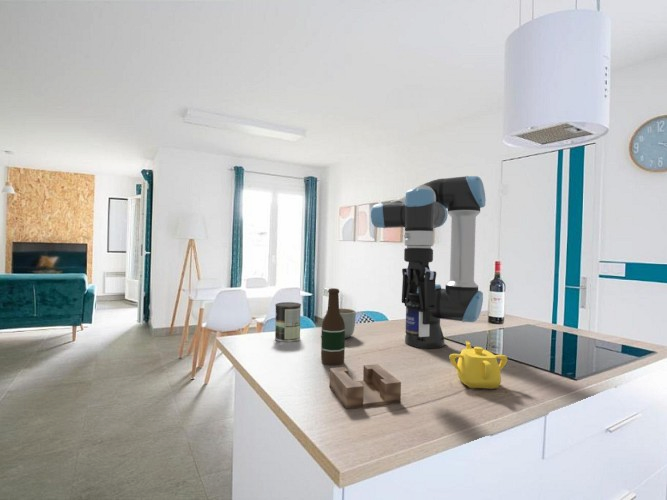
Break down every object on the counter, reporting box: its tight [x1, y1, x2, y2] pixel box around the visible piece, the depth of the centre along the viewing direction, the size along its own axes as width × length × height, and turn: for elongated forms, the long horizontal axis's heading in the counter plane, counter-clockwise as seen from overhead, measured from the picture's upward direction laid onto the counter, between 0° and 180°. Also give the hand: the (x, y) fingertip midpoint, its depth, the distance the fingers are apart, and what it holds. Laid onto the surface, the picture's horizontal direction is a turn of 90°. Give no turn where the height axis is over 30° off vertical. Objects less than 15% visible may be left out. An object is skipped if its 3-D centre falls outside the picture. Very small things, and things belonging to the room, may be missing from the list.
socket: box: [329, 363, 402, 410], centre depth 94 cm, size 14×14×5 cm
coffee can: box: [274, 301, 302, 343], centre depth 148 cm, size 10×10×14 cm
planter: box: [325, 307, 357, 339], centre depth 153 cm, size 12×12×11 cm
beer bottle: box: [320, 288, 346, 366], centre depth 120 cm, size 8×8×24 cm
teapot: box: [449, 340, 508, 390], centre depth 103 cm, size 14×13×10 cm
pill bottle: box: [405, 293, 421, 337], centre depth 98 cm, size 6×6×11 cm
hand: (417, 333), depth 98 cm, fingers closed on pill bottle, 6 cm apart
